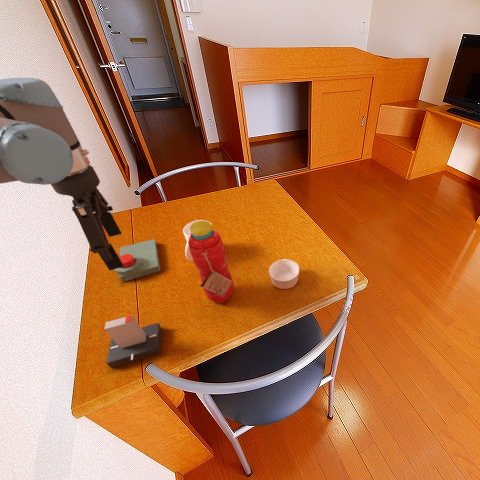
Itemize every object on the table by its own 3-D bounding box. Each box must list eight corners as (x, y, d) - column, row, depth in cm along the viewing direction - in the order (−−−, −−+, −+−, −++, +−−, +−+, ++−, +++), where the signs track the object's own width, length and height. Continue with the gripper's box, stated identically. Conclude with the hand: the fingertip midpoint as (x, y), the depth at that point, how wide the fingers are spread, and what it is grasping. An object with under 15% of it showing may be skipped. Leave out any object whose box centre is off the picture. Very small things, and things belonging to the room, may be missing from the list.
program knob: (121, 348, 62) (103, 328, 57) (122, 341, 63) (105, 321, 58) (145, 341, 64) (131, 321, 58) (146, 334, 65) (132, 314, 59)
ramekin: (271, 268, 86) (270, 258, 83) (300, 268, 86) (299, 258, 83) (268, 291, 79) (267, 281, 76) (299, 291, 80) (299, 281, 77)
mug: (203, 272, 84) (194, 247, 77) (179, 266, 85) (168, 241, 78) (223, 246, 93) (217, 222, 86) (201, 242, 94) (193, 217, 87)
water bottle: (239, 313, 73) (220, 242, 57) (207, 320, 71) (178, 249, 55) (235, 280, 82) (218, 210, 66) (207, 286, 80) (182, 215, 64)
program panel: (110, 373, 60) (105, 367, 59) (116, 337, 67) (111, 331, 65) (161, 357, 63) (157, 351, 62) (162, 324, 70) (158, 318, 68)
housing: (160, 271, 83) (156, 262, 81) (119, 283, 79) (113, 274, 77) (157, 243, 93) (152, 234, 90) (120, 253, 89) (114, 244, 86)
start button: (135, 265, 80) (132, 260, 79) (119, 270, 78) (116, 265, 77) (135, 257, 83) (132, 252, 81) (120, 261, 81) (116, 256, 80)
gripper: (89, 194, 47) (136, 278, 61) (93, 144, 64) (130, 219, 77) (32, 204, 44) (96, 290, 58) (52, 150, 60) (98, 227, 74)
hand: (115, 250), depth 67 cm, fingers open, 13 cm apart
